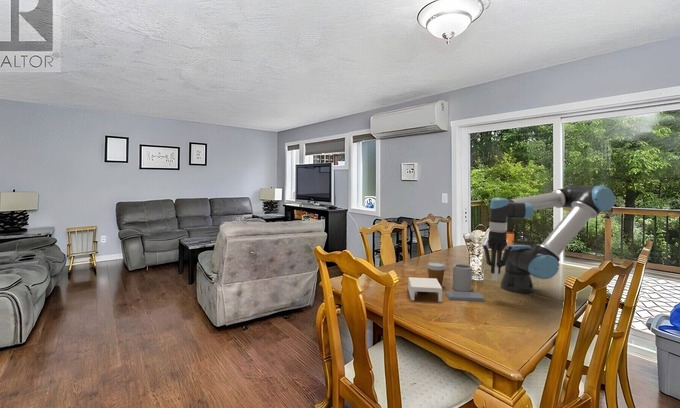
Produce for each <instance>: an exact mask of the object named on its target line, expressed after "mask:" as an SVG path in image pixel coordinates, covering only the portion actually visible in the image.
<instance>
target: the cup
mask: <svg viewBox="0 0 680 408" xmlns="http://www.w3.org/2000/svg"><path fill="white" fill-rule="evenodd" d="M472 277H473V266H472V265H469V264H464V263H463V264H462V263H456V264H453V266H452V289H453V290H454V291H456V292H472V282H473V280H472V279H473V278H472Z"/></svg>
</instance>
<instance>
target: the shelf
mask: <svg viewBox="0 0 680 408" xmlns="http://www.w3.org/2000/svg"><path fill="white" fill-rule="evenodd" d="M407 283H408V284H407V286H408V287H407V289H408V295H409V298H410V301H412V302H413V301H415V298H414V295H415V291H417V292H423V293H425V292H426V293H437V302H438V303H442V302H443V287H441V285H440V284H439V282H438V280H437V279H436V278H429V277H411V276H409V277H408V281H407Z"/></svg>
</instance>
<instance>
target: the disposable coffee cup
mask: <svg viewBox="0 0 680 408" xmlns="http://www.w3.org/2000/svg"><path fill="white" fill-rule="evenodd" d="M426 267H427V273H428V274H427V275H428V278H436V279H437V280H438V282H439V284H440V285H441V287H442V286H443V282H444V275H445V270H446V268H447V267H446V265H445V263H442V262H435V261H434V262H433V261H431V262H428V263H427V265H426ZM442 288H443V287H442Z"/></svg>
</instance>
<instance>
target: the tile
mask: <svg viewBox="0 0 680 408" xmlns="http://www.w3.org/2000/svg"><path fill="white" fill-rule="evenodd" d="M445 295H446V297H447V299H448V300H449V301H462V302H463V301H466V302H485V300H486V299H485V297H484V296H483V295H482V294H481V293H480V292H479V291H477V292H474V291H473V292H472V291H469V292H461V291H456V290H454V291H452V290H451V291H450V290H445Z"/></svg>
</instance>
